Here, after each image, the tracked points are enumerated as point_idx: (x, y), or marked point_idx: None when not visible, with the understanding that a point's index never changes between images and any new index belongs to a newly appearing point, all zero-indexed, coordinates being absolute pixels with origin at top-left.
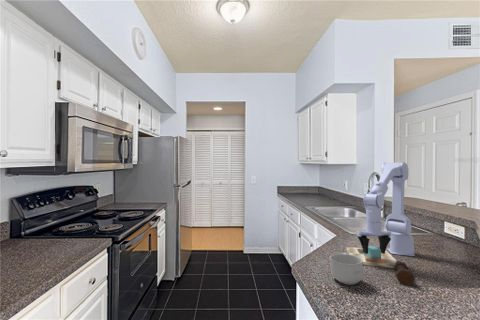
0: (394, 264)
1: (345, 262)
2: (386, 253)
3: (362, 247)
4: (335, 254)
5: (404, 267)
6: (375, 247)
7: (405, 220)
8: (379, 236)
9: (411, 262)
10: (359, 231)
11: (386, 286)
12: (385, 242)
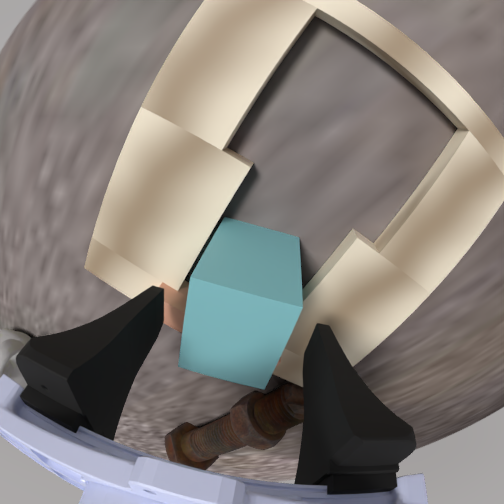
0: (301, 375)
1: (11, 362)
2: (473, 215)
3: (125, 305)
4: None
5: (234, 449)
6: (267, 345)
7: None
8: (337, 451)
9: (467, 328)
10: (4, 426)
11: (126, 414)
12: (300, 455)
